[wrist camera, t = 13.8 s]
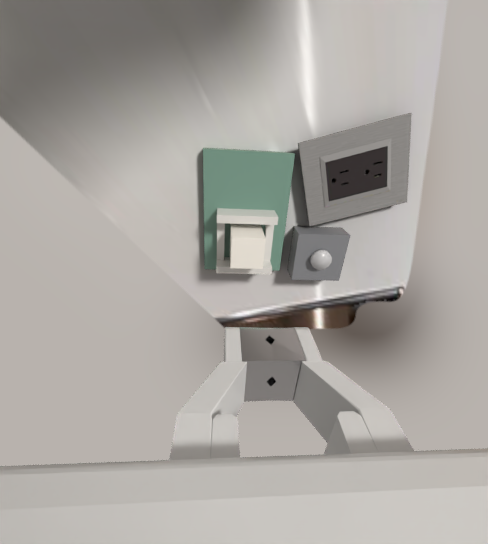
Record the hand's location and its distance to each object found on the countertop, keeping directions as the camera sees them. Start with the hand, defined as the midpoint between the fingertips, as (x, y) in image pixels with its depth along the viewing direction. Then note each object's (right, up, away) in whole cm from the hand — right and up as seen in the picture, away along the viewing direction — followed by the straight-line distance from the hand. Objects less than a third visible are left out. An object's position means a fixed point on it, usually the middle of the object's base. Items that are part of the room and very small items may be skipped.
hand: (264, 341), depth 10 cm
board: (-1, +10, +28) cm, 29 cm away
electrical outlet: (+13, +16, +26) cm, 33 cm away
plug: (-1, +7, +27) cm, 28 cm away
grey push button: (+10, +6, +31) cm, 33 cm away
